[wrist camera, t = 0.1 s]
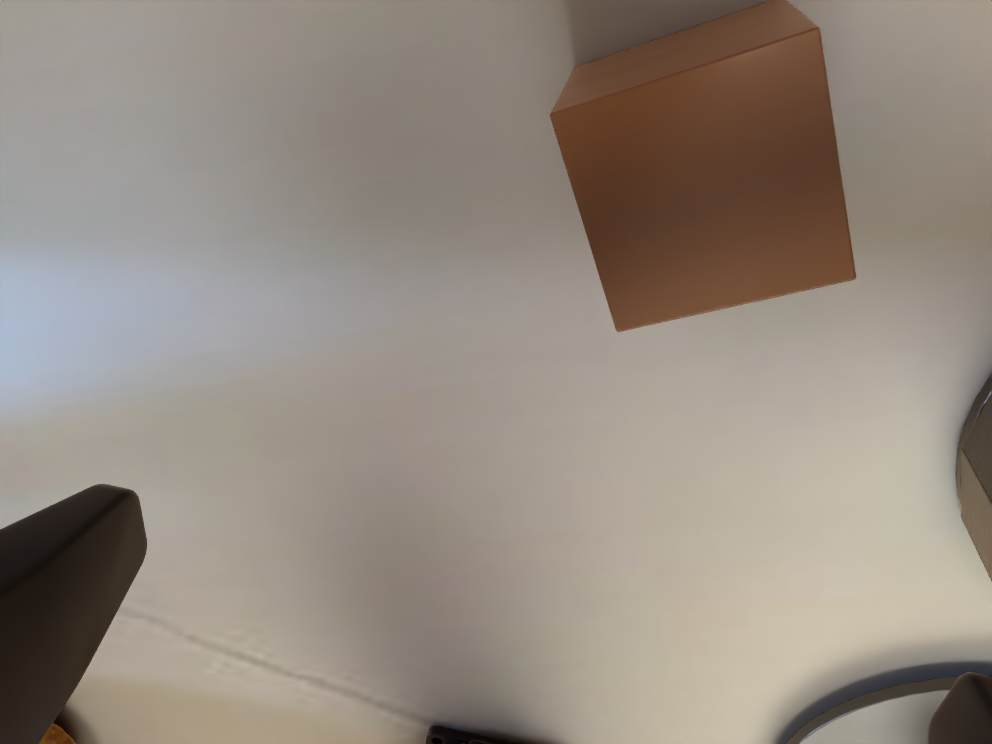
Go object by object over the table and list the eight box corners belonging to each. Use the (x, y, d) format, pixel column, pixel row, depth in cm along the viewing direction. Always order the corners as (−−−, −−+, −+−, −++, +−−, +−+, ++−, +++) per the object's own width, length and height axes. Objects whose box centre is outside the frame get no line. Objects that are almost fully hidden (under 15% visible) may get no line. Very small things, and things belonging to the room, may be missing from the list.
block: (816, 199, 20) (856, 280, 16) (625, 248, 22) (616, 333, 17) (783, -5, 18) (820, 26, 14) (573, 67, 19) (548, 114, 15)
